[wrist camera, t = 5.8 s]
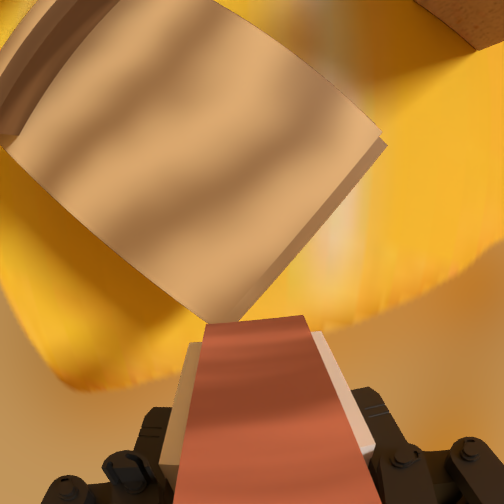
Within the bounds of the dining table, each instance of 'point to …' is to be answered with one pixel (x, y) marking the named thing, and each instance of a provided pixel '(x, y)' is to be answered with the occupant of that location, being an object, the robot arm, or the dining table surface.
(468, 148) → the dining table surface
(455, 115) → the dining table surface
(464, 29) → the wooden block
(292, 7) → the dining table surface
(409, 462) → the robot arm
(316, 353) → the reddish-brown wooden bar
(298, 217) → the lid
